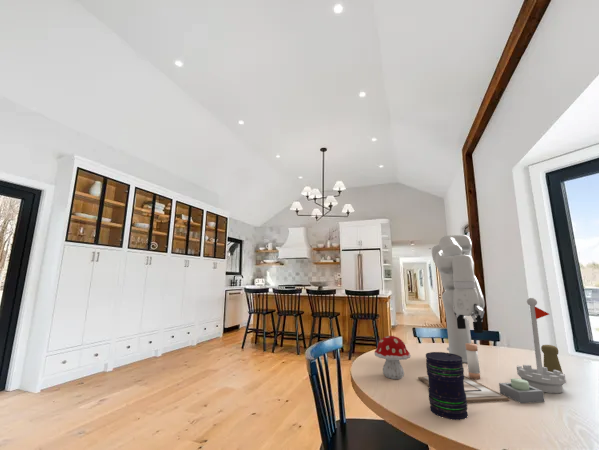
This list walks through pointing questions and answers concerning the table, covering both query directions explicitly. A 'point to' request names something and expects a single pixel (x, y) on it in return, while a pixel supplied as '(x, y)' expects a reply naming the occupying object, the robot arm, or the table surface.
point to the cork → (551, 358)
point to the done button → (519, 384)
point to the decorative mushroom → (392, 356)
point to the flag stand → (541, 375)
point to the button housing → (522, 393)
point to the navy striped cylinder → (446, 385)
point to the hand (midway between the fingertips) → (469, 330)
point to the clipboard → (475, 391)
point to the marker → (472, 360)
